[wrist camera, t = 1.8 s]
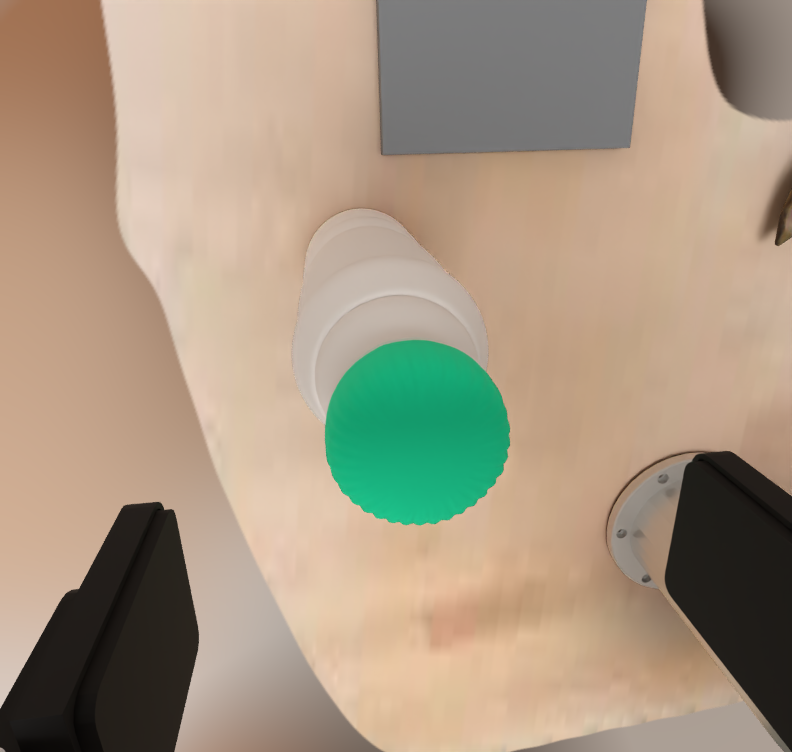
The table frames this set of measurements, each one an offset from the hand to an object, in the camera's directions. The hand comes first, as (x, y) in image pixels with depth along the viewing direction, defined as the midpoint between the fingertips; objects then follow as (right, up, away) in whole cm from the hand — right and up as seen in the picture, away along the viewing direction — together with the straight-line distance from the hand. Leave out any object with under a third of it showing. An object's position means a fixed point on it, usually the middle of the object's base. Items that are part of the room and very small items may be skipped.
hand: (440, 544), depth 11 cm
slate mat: (+6, +23, +23) cm, 33 cm away
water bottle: (-3, +10, +27) cm, 29 cm away
